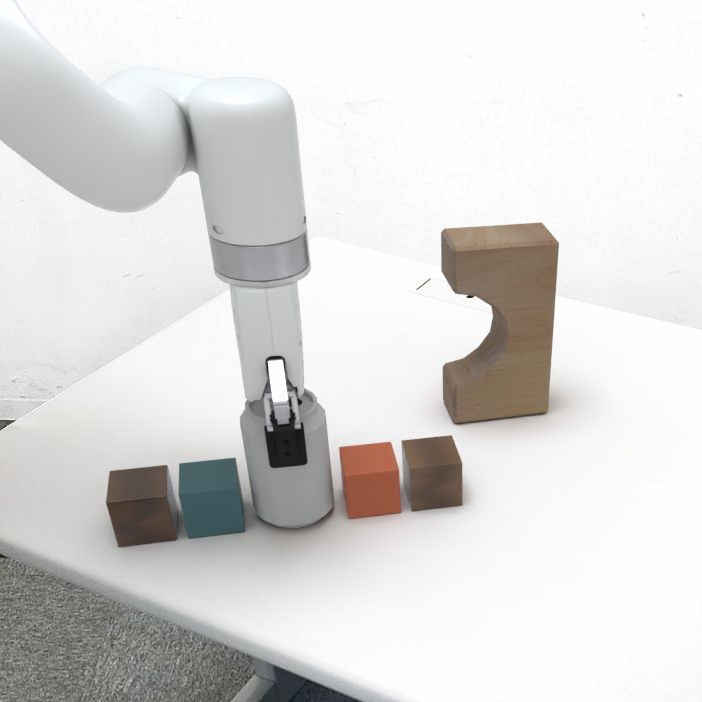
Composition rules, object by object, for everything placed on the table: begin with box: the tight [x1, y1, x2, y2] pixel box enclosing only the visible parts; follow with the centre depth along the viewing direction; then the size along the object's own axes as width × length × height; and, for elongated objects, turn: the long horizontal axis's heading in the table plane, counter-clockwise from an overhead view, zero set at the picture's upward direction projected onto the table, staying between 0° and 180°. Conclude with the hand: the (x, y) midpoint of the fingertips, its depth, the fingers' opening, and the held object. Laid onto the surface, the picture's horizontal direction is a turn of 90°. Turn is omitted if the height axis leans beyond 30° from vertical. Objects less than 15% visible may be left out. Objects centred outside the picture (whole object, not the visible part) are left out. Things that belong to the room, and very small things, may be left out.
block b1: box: [105, 464, 178, 548], centre depth 87 cm, size 5×5×5 cm
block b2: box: [178, 457, 246, 539], centre depth 89 cm, size 5×5×5 cm
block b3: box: [338, 441, 402, 520], centre depth 92 cm, size 5×5×5 cm
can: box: [239, 385, 335, 529], centre depth 88 cm, size 8×8×12 cm
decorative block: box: [440, 222, 560, 424], centre depth 103 cm, size 11×6×20 cm, turn 106°
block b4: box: [401, 434, 463, 512], centre depth 94 cm, size 5×5×5 cm
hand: (284, 435), depth 87 cm, fingers open, 9 cm apart
